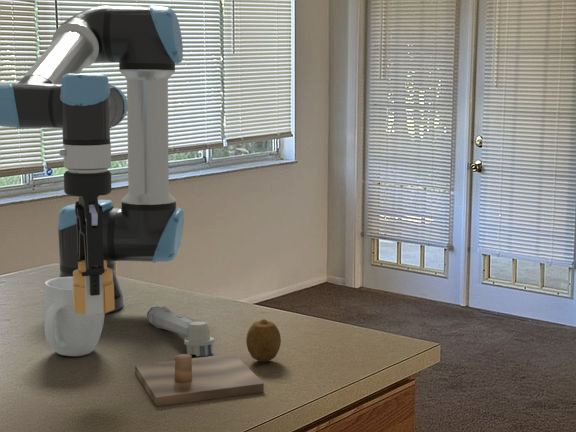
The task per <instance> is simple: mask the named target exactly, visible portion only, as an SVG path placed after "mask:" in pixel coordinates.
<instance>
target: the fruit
mask: <svg viewBox="0 0 576 432" xmlns="http://www.w3.org/2000/svg"><path fill="white" fill-rule="evenodd" d="M281 341H282V339H281V333H280V330H279V329H278V326H277V325H276V324H275V323H274V322H273V321H268V320H266V319H265V318H263V319H260V321H255V322H253V323H252V325H251V326H250V327H249V329H248V331H247V334H246V341H245V342H246V348H247V351H248V352H249V354H250V356H251V358H253V359H254V360H256V361H258V362H259V363H261V364H262V363H263V364H264V363H267V362H269V361H272V360H273V359H275V358H276V357H277V355H278V353H279V350H280V347H281V343H282V342H281Z"/></svg>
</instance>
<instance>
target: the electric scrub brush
mask: <svg viewBox="0 0 576 432" xmlns="http://www.w3.org/2000/svg"><path fill="white" fill-rule="evenodd" d="M146 317H147V319H146V320H147V322H148V323H150V324H151V325H152V326H154V327H155V328H156V329H158V330H159V329H163V330H166V331H169V332H172V333H176V334H178V335H181V336H184V337H187V338H184V341H183V342H184V343H183V344H184V345H185V346H186V354H188V355H191V356H194V355H195V357H208V356H212V354H213V344H214V343H215V338H214V337H212V336H211V335H210V329H209V324H208V323H207V322H206V321H193V320H191V319H190V318H187V317H184V316H183V315H180V314H178V313H176V312H173V311H171V310H170V309H169V308H168V307H167V306H151V308H150V309H149V310H148V311H147V312H146Z"/></svg>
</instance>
